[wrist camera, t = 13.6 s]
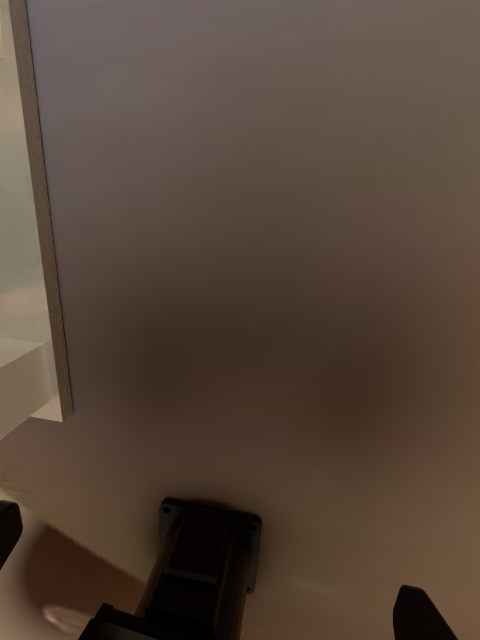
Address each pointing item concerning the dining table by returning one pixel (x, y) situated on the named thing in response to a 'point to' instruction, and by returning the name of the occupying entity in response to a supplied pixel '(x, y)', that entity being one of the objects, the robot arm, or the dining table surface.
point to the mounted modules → (21, 373)
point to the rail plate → (27, 216)
